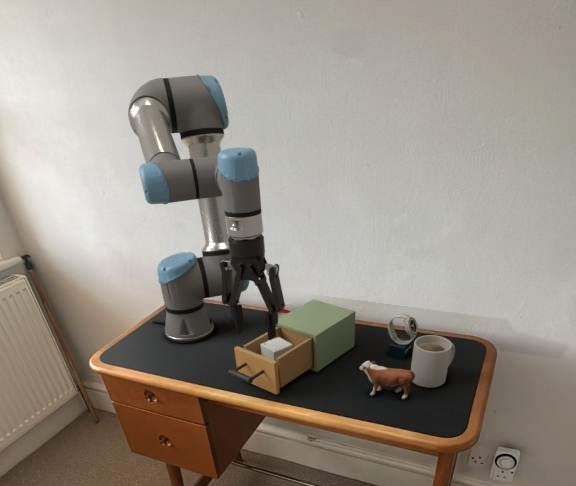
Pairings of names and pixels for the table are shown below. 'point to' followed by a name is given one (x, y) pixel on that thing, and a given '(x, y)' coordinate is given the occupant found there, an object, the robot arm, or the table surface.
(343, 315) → the cabinet
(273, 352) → the product box
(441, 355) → the mug
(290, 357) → the drawer
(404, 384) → the bull figurine
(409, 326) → the watch
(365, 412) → the table surface
